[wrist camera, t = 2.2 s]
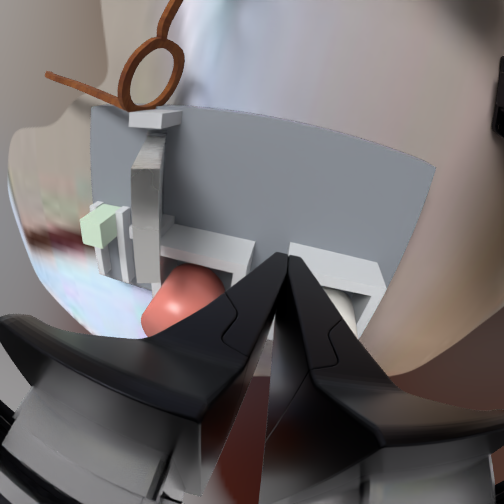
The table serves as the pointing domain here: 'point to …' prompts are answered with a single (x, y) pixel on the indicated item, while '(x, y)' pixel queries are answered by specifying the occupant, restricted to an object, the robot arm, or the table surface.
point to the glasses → (128, 71)
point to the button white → (343, 306)
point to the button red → (181, 297)
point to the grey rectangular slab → (148, 205)
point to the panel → (261, 197)
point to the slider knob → (99, 226)
